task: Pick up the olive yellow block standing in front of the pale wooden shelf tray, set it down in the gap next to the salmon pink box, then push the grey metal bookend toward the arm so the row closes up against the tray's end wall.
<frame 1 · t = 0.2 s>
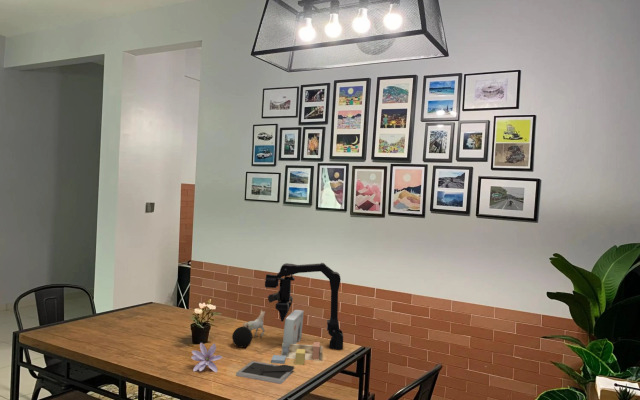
hand: (283, 318, 248), 14 cm above the table, tool pointing down, fingers open, 9 cm apart
shelf tray: (301, 358, 234), on the table
olive yellow block: (299, 365, 225), on the table
water lily: (204, 369, 213), on the table
salmon pink box: (315, 356, 233), point 1 cm above the table, touching shelf tray
decorative ball: (241, 347, 246), on the table
blue book lying: (278, 364, 225), on the table
bookend: (285, 354, 234), point 1 cm above the table, touching shelf tray
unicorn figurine: (251, 337, 263), on the table
picture frame: (265, 375, 212), on the table
skincare box: (292, 344, 254), on the table
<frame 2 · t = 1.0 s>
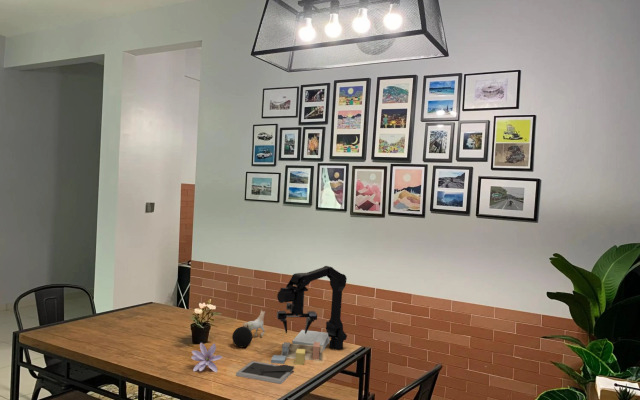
hand: (295, 333, 230), 13 cm above the table, tool pointing down, fingers open, 9 cm apart
skincare box: (296, 340, 253), point 2 cm above the table
everything else where it was.
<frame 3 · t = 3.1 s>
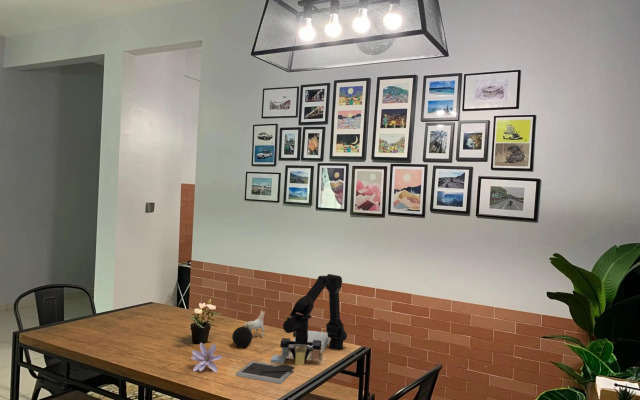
hand: (300, 362, 225), 1 cm above the table, tool pointing down, fingers closed on olive yellow block, 4 cm apart
olive yellow block: (299, 364, 225), on the table, touching gripper
everything else where it was.
when the fingers open (4 cm above the table, at t = 6.7 s): olive yellow block drops 1 cm, resting on shelf tray.
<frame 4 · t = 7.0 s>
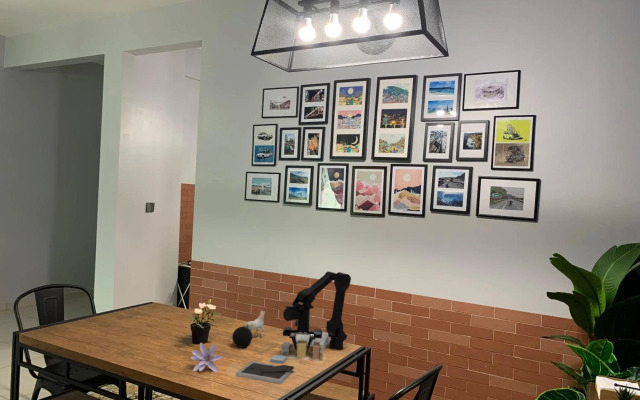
hand: (301, 350, 234), 4 cm above the table, tool pointing down, fingers open, 5 cm apart
olive yellow block: (301, 355, 234), point 1 cm above the table, touching shelf tray
everything else where it was.
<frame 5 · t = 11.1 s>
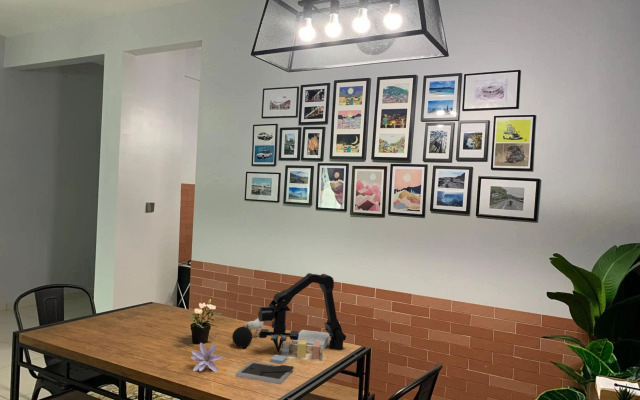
hand: (278, 352, 234), 2 cm above the table, tool pointing down, fingers closed
bookend: (285, 354, 234), point 1 cm above the table, touching gripper, shelf tray
everything else where it was.
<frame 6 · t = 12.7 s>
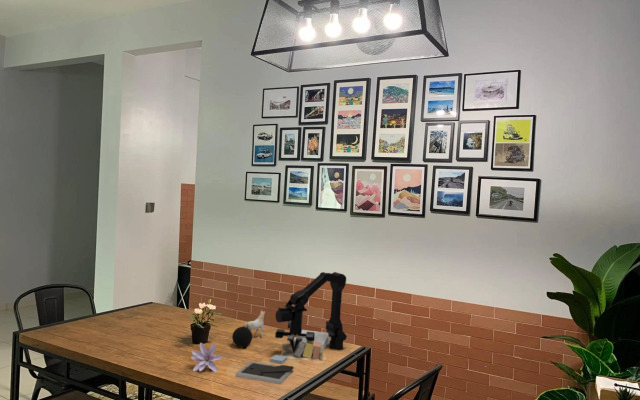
hand: (293, 352, 234), 2 cm above the table, tool pointing down, fingers closed
olive yellow block: (307, 355, 233), point 2 cm above the table, tilted 12°, touching bookend, shelf tray, salmon pink box
salmon pink box: (315, 356, 233), point 1 cm above the table, tilted 5°, touching olive yellow block, shelf tray
bookend: (297, 354, 233), point 2 cm above the table, tilted 26°, touching gripper, olive yellow block
everything else where it was.
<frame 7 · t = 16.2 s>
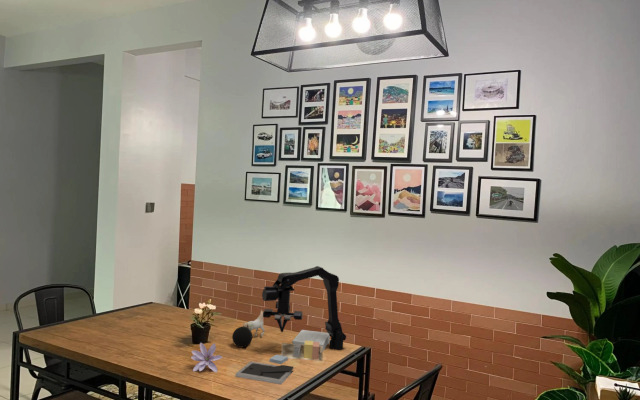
hand: (281, 332, 234), 12 cm above the table, tool pointing down, fingers closed
olive yellow block: (308, 356, 233), point 1 cm above the table, touching shelf tray
salmon pink box: (315, 356, 233), point 1 cm above the table, touching shelf tray
bookend: (297, 355, 233), point 1 cm above the table, touching shelf tray
everything else where it was.
at the end: olive yellow block 1.6 cm from the target spot, point 1.2 cm above the table; olive yellow block tilted 0°; bookend 1.0 cm from the target spot, point 1.2 cm above the table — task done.
